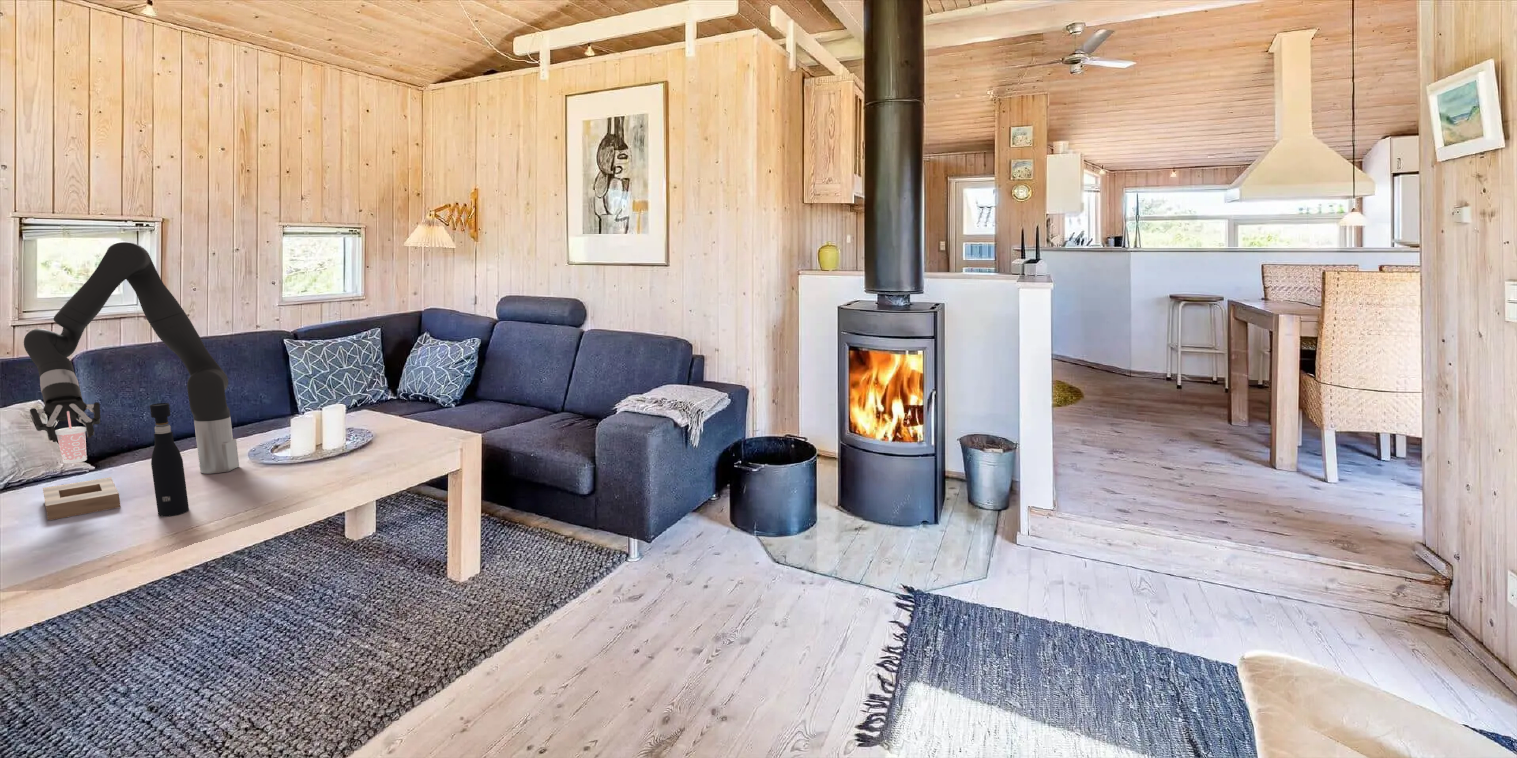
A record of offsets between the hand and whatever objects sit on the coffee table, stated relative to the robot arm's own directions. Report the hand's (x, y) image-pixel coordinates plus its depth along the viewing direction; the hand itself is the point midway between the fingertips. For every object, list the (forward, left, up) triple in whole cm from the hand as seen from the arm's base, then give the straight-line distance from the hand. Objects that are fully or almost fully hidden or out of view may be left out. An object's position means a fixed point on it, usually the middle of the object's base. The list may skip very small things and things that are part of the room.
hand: (72, 438), depth 185 cm
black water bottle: (-27, +9, -19) cm, 34 cm away
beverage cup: (+1, -1, -7) cm, 7 cm away
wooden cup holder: (+1, -1, -19) cm, 19 cm away
